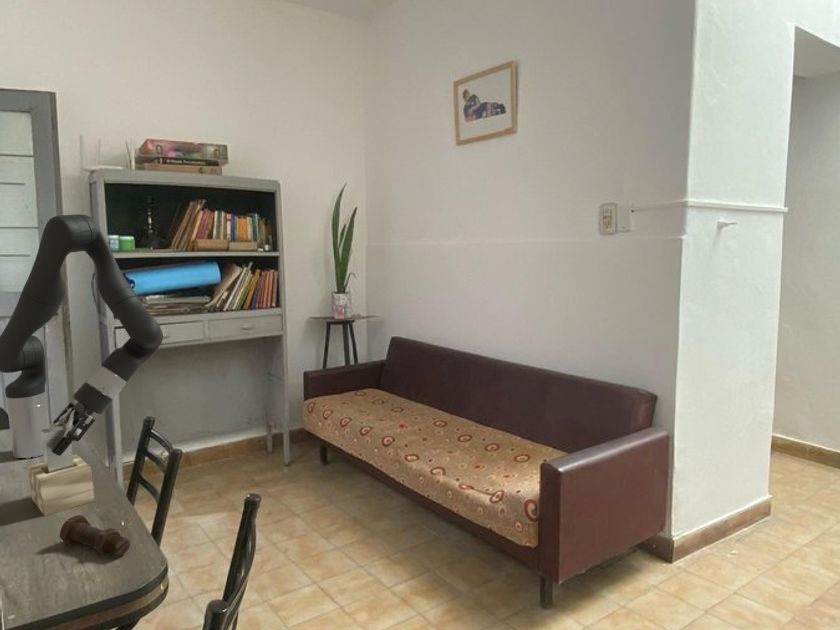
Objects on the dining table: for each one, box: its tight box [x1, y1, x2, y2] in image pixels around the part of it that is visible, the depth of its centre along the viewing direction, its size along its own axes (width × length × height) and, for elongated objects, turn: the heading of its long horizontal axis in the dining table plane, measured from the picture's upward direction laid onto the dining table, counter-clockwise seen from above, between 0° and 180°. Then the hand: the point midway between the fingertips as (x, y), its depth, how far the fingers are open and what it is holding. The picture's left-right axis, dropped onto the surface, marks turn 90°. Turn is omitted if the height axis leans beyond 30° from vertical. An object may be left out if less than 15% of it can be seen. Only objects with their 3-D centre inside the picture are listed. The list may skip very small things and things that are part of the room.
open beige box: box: [28, 454, 95, 517], centre depth 137 cm, size 12×10×8 cm
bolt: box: [59, 514, 131, 557], centre depth 116 cm, size 6×5×15 cm
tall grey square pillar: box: [41, 425, 74, 474], centre depth 137 cm, size 4×5×14 cm
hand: (50, 449), depth 135 cm, fingers open, 8 cm apart
